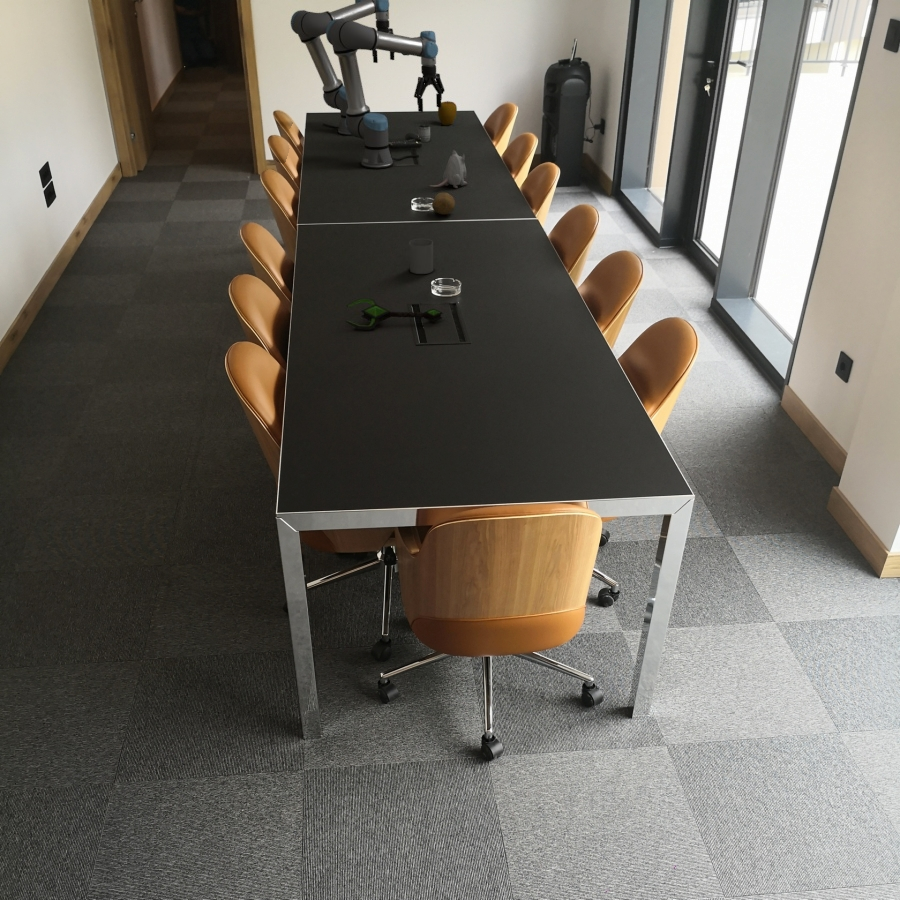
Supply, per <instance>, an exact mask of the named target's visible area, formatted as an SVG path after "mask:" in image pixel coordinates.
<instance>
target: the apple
mask: <svg viewBox="0 0 900 900" xmlns="http://www.w3.org/2000/svg"><path fill="white" fill-rule="evenodd" d="M457 114H458V107H457V104H456V103H455V102H454V101H449V100H446V101H441V108H440V107H437V116H438V120H439V122H440V123H441V125H442V126H449V125H452V124H453V123H454V121H455V120H456V117H457Z"/></svg>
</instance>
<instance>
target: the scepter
mask: <svg viewBox="0 0 900 900" xmlns="http://www.w3.org/2000/svg"><path fill="white" fill-rule="evenodd" d="M360 303H368V304H370V305H371V306H369V307H367V308H364V309H362V310H360V312H361V313H362V315H361V317H362V318H363V319H366V320H367V321H369V322H370V324H368V325H361V324H357V323H355V322H353V321H350V320H345V322H346V323H347V324H349V325H351V326H352V327H354V328H355V329H358V330H366V331H367V330H369V331H370V330H374V328H375V327H376V325H377V324H380V323H381V322H384V321H386V320H388V319H390V318H412V319H413V318H416V319H417V318H418V319H421V318H423V319H425V320H427V321H429V322H433V323H435V322H437V321H440V320H442V319H443V317H442V314H443V312H442V311H440V310H437V309H435V308H431V309H429V310H426V311H424V312H422V311H418V312H413V311H409V312H408V311H391V310H389V309H387V308H385V307H383V306H381V305H380V304H377V302H376V301H375V300H374V299H373V298H359V299H356V300H354V301H352V302H350V303H348V304H346V307H352V306H355V305H357V304H360Z"/></svg>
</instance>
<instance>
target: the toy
mask: <svg viewBox="0 0 900 900" xmlns="http://www.w3.org/2000/svg"><path fill="white" fill-rule="evenodd" d="M466 178H467V168H466V156H465V153H463V154H462V155H459V154H458V153H457V151H456V150H455V149H453V150H452V153H451V155H450V156H449V158H448V161H447V163H446V166H445V170H444V171H443V177H442V179H443V181H442V182H441V183H439V184H436V185H435V184H433V185H432V184H430V185H428V186H429V187H434V188H440V187H443V186H446V187H448V186H449V185H451V186H453V188H455V189H459V187H458V186H461V187H462V186H467V185H468V182H467V181H465V180H466Z"/></svg>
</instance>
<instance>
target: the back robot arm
mask: <svg viewBox="0 0 900 900" xmlns="http://www.w3.org/2000/svg"><path fill="white" fill-rule="evenodd" d="M389 9H390V1H389V0H354V3H352V4H349V5H347V6H344V7H341V8H339V9H336V10H333V11H328V10H326V11H322V12H313V11H308V10H306V9H302V10H296V11H295V12H293V14H292V15H291V19H290V28H291V30H292V31H293V32H294V33H295V34H296V35H297V36H298V38H299V40H300V42H301V43H302V44H304V45H305V47H306V49H307V51H308V53H309V55H310V58H311V60H312V62H313V64H314V67H315V69H316V71H317V73H318V75H319V79H320V81H321V82H322V84H323V86H322V91H323V93H322V97H323V101H324V103H325V104H326V105H327V106H328V107H330V108H332V109H335V110H339V112H340V119H339V125H338V126H334V125H331V124H327V123H322V125H323V126H326V127H329V128H334V129H337V130H338V131H337V132H338V134H339V135H342V136H352V135H351V134H350V133H349V132H348V131H347V129H346V127H345V118H346V116H347V113H346V111H347V109H348V102H347V98H346V93H345V88H344V83H343V80H342V79H340V78H338V76H337V74H336V71H335V69H334V67H333V64H332V61H331V59H330V58H329V55H328V52H327V51H326V48H325V46H324V43H323V40H322V39H321V36H323V35H326V30H327V27H328V25H329V23H330V22H331V21H333V20H335V19H344V20H348V21H354V22H356V21H357V20H361V19H363V18H365V17H368V16H372V15H375V29H376V31H380V32H385V33H390V34H394V29H393V28H390V20H389V19H390V10H389ZM395 53H396V52H390V51H389V60H390V61H395ZM371 55H372V61H373V63H375V64H378V62H379V59H378V49H374V50H372V51H371Z"/></svg>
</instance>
